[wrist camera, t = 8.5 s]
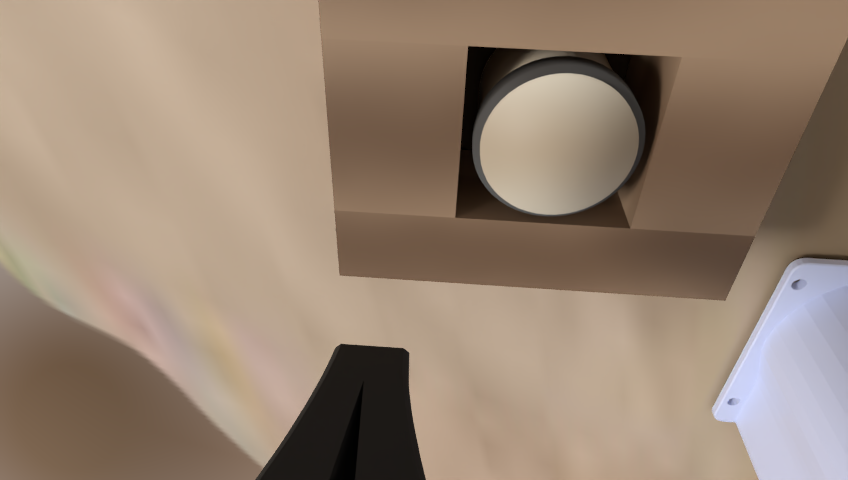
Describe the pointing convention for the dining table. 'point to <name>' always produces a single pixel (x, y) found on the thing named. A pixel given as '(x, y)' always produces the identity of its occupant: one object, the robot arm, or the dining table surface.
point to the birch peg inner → (554, 130)
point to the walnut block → (626, 209)
